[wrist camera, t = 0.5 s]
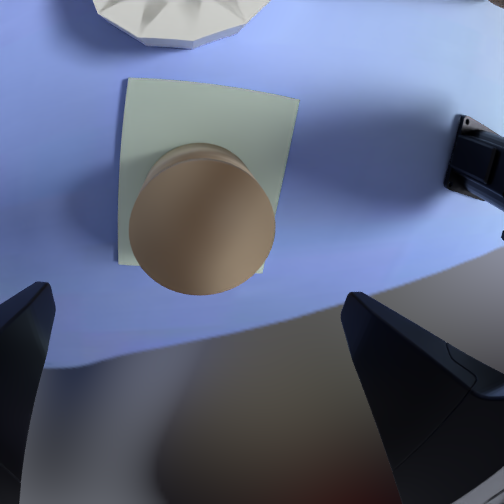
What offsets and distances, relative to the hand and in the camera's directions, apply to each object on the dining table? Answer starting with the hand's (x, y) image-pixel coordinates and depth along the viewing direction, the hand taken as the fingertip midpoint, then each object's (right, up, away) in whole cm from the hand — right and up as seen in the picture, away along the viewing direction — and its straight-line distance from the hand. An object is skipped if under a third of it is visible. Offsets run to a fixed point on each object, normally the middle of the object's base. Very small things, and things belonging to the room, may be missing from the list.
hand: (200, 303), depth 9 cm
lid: (-2, +5, +10) cm, 12 cm away
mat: (-2, +6, +10) cm, 12 cm away
